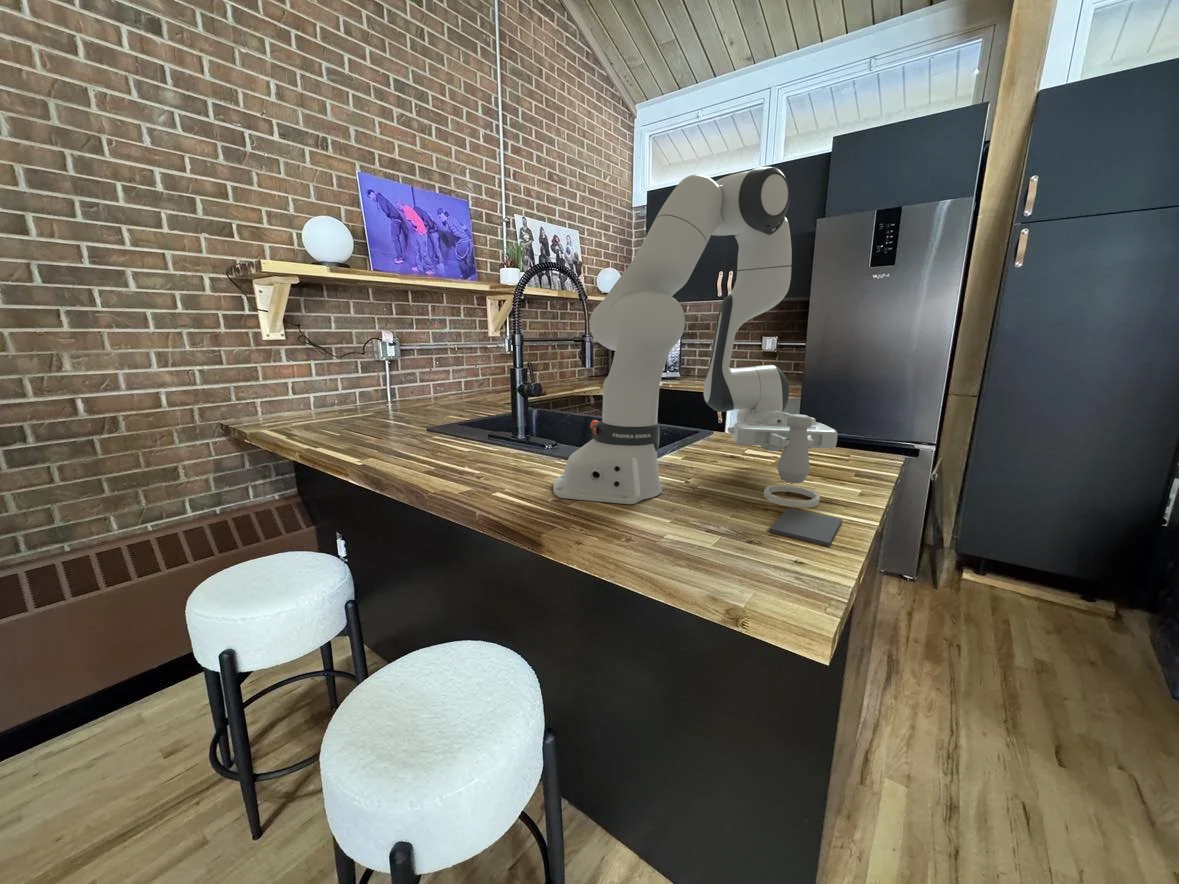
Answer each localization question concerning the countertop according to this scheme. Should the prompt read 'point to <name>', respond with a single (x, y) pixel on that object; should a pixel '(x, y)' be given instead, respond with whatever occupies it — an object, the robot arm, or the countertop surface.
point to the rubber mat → (807, 526)
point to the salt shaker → (795, 450)
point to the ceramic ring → (789, 502)
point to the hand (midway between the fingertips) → (797, 443)
